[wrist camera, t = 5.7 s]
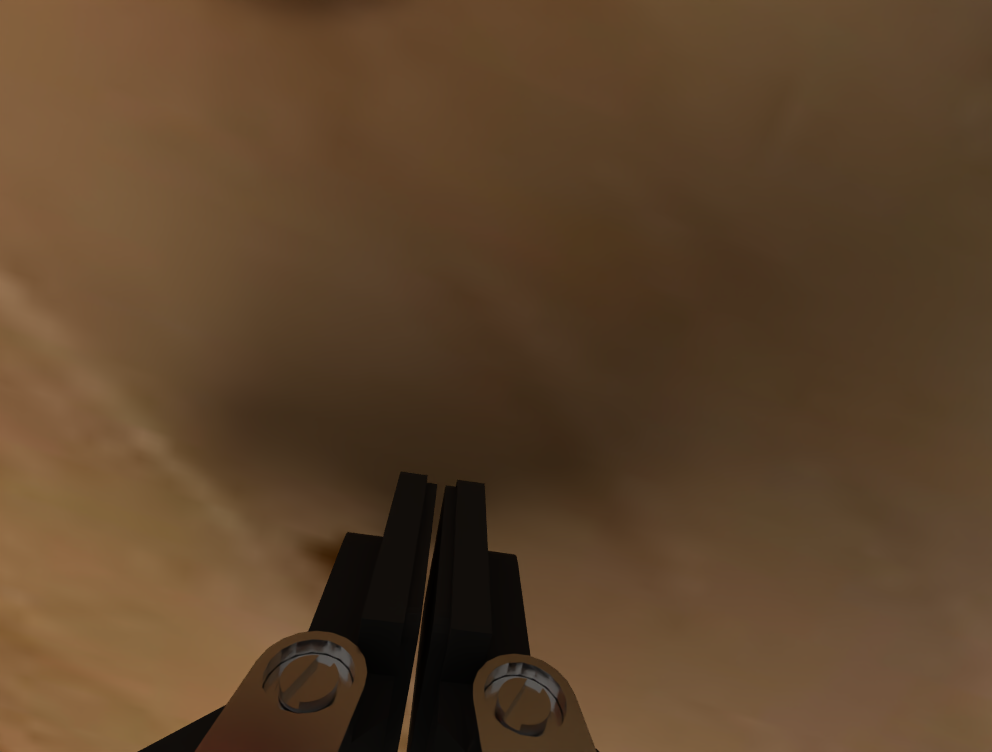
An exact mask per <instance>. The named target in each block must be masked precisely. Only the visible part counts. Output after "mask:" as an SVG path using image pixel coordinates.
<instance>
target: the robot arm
mask: <svg viewBox="0 0 992 752" xmlns="http://www.w3.org/2000/svg"><path fill="white" fill-rule="evenodd" d="M427 477H428V475H421V474H415V473H408V472H400V476H399V480H398V483H397V487H396V491H395V495H394V498H393V502H392V506H391V510H390V513H389V517H388V521H387V524H386V528H385V532H384V536H383V537H380V536H373V535H365V534H358V533H350V532H348V533H347V534H346V536H345V538H344V540H343V543H342V545H341V548H340V551H339V553H338V556H337V558H336V561H335V564H334V566H333V569H332V571H331V574H330V576H329V579H328V582H327V584H326V587H325V589H324V592H323V595H322V597H321V600H320V602H319V605H318V608H317V610H316V613H315V615H314V618H313V620H312V623H311V626H310V628H309V631H308V632H303V633H298V634H295V635H292V636H289V637H286V638H283V639H282V640H280V641H278V642H277V643H275V644H274V645H272V646H271V647H269V648H268V649H267V650H266V651H265V652H264V653H263V654H262V655H261V656H260V657H259V659H258V660H257V661H256V662H255V664H254V665H253V667H252V668H251V670H250V671H249V672H248V674H247V675H246V677H245V678H244V680H243V681H242V683H241V684H240V686H239V687H238V689H237V690H236V692H235V693H234V694H233V696H232V697H231V699H230V700H229V702H228V703H227V705H225V706H223V707H221V708H219V709H217V710H215V711H213V712H212V713H210V714H208V715H206V716H204V717H202V718H200V719H198V720H196V721H195V722H193V723H191V724H189V725H187V726H185V727H183V728H181V729H180V730H178V731H176V732H174V733H172V734H170V735H168V736H166V737H165V738H163V739H161V740H159V741H157V742H155V743H153V744H151V745H149V746H148V747H146V748H144V749H142V750H140V751H138V752H398V746H399V740H400V735H401V729H402V724H403V718H404V713H405V707H406V702H407V696H408V690H409V685H410V679H411V674H412V668H413V663H414V657H415V652H416V646H417V640H418V634H419V628H420V621H421V614H422V606H423V598H424V590H425V582H426V573H427V565H428V557H429V549H430V540H431V532H432V524H433V516H434V508H435V499H436V491H437V484H433V483H427ZM407 752H599V751H598V750H597V749H596V748H595V746H594V743H593V741H592V738H591V736H590V733H589V730H588V728H587V725H586V722H585V720H584V717H583V714H582V712H581V709H580V706H579V704H578V701H577V698H576V696H575V694H574V692H573V690H572V688H571V687H570V685H569V683H568V681H567V680H566V679H565V678H564V677H563V676H562V675H561V674H560V673H559V672H558V671H557V670H556V669H555V668H553V667H552V666H550V665H549V664H547V663H546V662H544V661H542V660H539V659H537V658H534V657H531V656H530V649H529V642H528V634H527V627H526V620H525V612H524V605H523V597H522V590H521V583H520V575H519V568H518V561H517V557H516V555H514V554H507V553H499V552H492V551H488V542H487V523H486V504H485V486H484V484H483V483H476V482H469V481H462V480H457V483H456V487H453V486H447V485H446V487H445V492H444V497H443V503H442V508H441V514H440V519H439V525H438V530H437V536H436V541H435V547H434V553H433V558H432V564H431V569H430V575H429V580H428V586H427V591H426V597H425V603H424V610H423V617H422V625H421V634H420V642H419V651H418V659H417V668H416V676H415V685H414V693H413V702H412V710H411V718H410V727H409V735H408V744H407Z"/></svg>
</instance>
